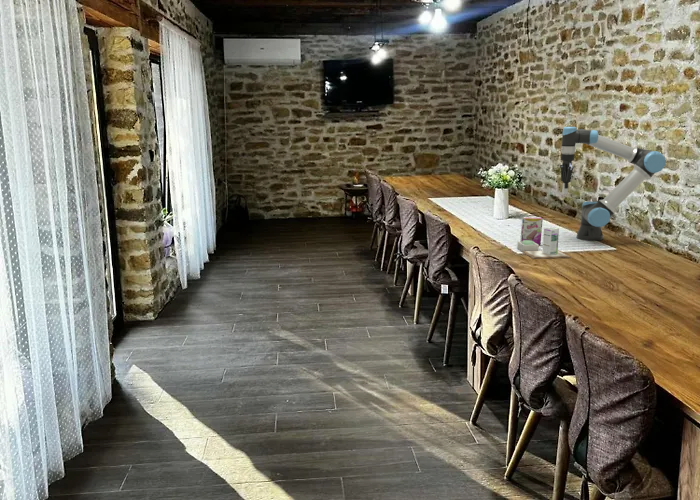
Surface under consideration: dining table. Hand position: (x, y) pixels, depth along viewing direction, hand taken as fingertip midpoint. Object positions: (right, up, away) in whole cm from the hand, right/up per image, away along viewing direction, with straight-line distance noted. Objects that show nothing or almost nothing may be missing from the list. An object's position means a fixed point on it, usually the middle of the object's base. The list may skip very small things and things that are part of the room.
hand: (564, 193), depth 361 cm
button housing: (-26, -33, -14) cm, 44 cm away
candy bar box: (-20, -30, 0) cm, 37 cm away
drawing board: (-19, -36, -26) cm, 48 cm away
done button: (-26, -32, -14) cm, 44 cm away
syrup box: (-18, -36, -26) cm, 48 cm away
